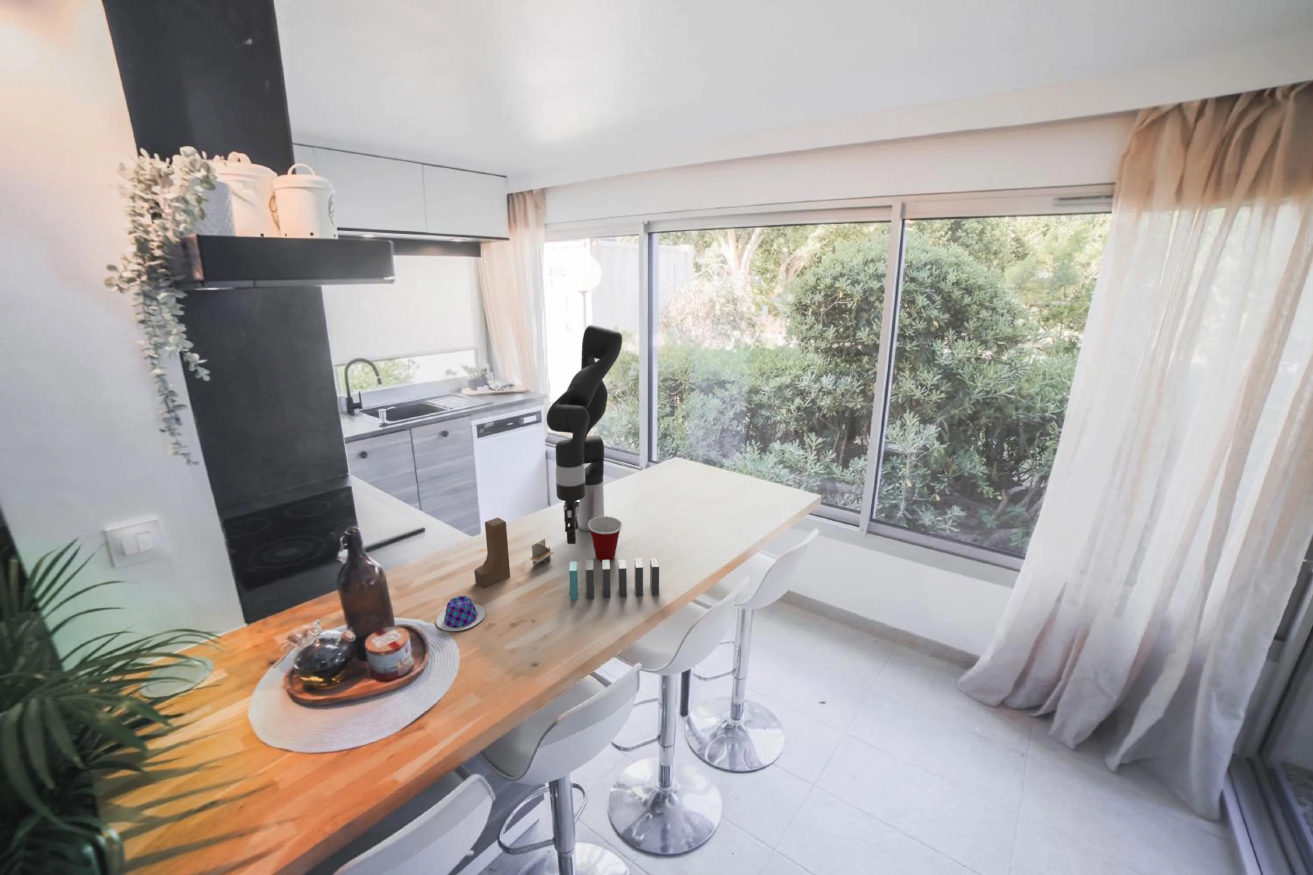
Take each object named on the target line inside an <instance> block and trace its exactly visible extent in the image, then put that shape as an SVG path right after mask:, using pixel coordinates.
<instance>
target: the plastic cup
mask: <svg viewBox="0 0 1313 875" xmlns="http://www.w3.org/2000/svg"><path fill="white" fill-rule="evenodd" d="M588 528H589V529H590V531H589V532H590V534H591V535H590V536H591V541H592V544H593V549H594V553H595V557H596V560H597V561H598V562H601V563H602V560H610V562H611V561H613V560H614V559H615V556H616V552H617V546H618V541H619V536H620V533H621V532H620V531H621V530H622V528H623V522H622V521H621V520H620V519H618V518H616V517H613V516H608V515H607V516H605V515H604V516H601V517H596V518H593V519H591V520H590V521H589V522H588Z"/></svg>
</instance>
